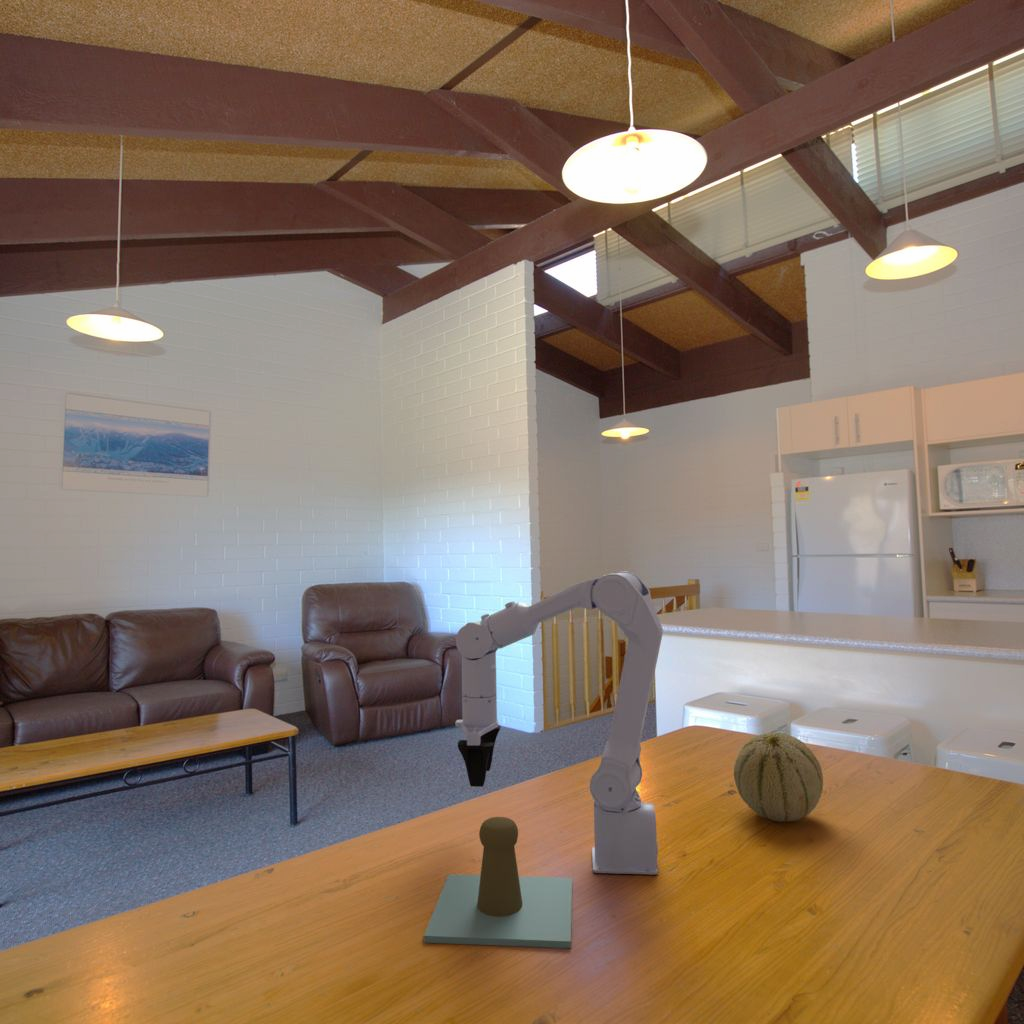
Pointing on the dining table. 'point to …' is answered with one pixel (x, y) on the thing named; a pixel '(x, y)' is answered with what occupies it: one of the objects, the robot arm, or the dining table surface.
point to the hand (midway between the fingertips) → (480, 777)
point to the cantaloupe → (778, 777)
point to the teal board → (530, 926)
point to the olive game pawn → (499, 868)
